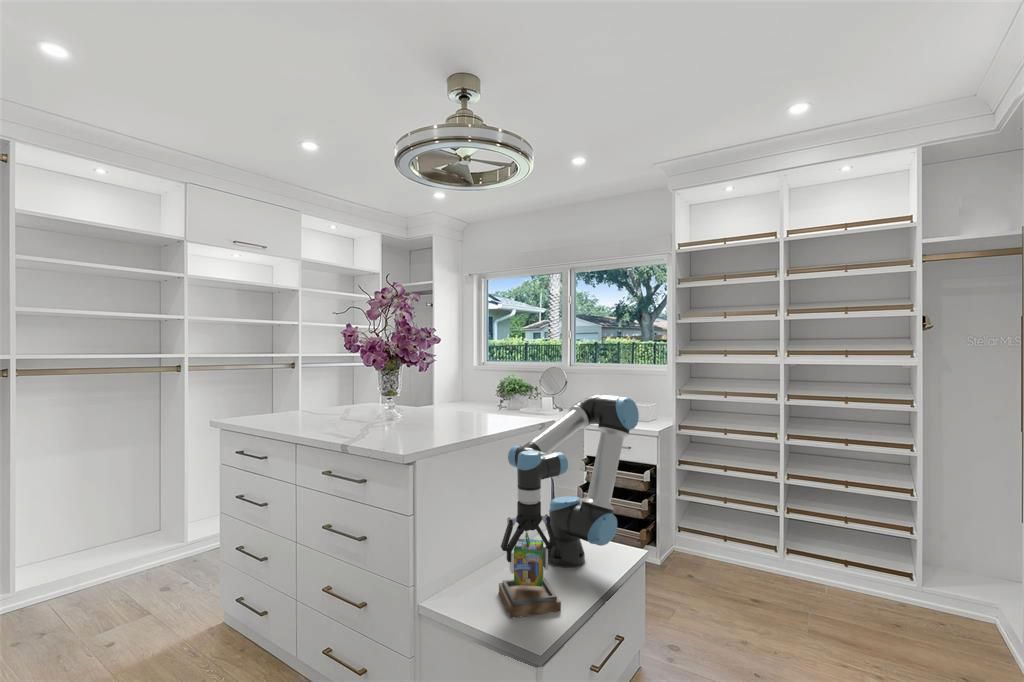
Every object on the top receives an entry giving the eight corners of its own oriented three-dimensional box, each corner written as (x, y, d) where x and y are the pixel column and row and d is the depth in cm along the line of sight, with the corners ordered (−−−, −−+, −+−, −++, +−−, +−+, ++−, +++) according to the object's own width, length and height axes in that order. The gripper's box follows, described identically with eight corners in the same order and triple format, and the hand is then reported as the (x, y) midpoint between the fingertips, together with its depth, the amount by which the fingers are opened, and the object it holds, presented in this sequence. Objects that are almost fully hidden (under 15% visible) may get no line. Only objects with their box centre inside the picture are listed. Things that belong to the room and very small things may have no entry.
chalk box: (542, 587, 156) (542, 540, 156) (513, 585, 157) (513, 538, 157) (544, 574, 165) (544, 529, 165) (516, 572, 166) (516, 527, 166)
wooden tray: (544, 586, 170) (545, 574, 170) (560, 611, 154) (560, 597, 154) (498, 592, 166) (498, 579, 166) (510, 618, 150) (510, 604, 150)
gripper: (559, 494, 166) (558, 561, 166) (491, 499, 161) (491, 568, 161) (567, 501, 159) (566, 571, 159) (496, 507, 154) (496, 579, 154)
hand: (528, 569), depth 160 cm, fingers closed on chalk box, 10 cm apart
